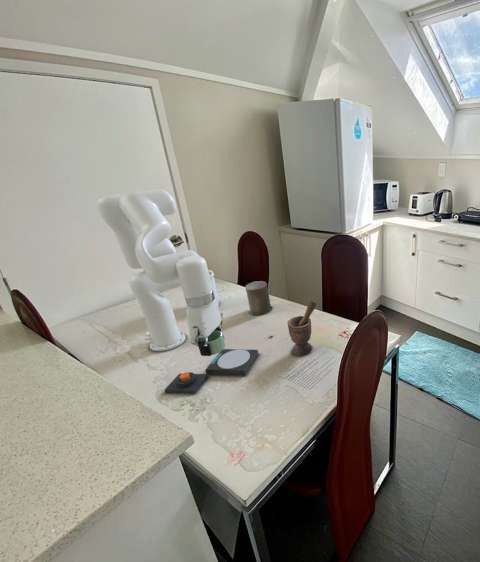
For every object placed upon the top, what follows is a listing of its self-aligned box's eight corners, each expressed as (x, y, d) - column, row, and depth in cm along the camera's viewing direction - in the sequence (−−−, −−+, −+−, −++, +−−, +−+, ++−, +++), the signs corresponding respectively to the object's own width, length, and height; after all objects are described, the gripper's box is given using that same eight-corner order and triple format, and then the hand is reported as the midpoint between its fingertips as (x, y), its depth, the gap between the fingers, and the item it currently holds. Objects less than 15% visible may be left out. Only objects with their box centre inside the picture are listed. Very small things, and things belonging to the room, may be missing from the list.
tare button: (178, 381, 103) (177, 377, 103) (184, 375, 106) (182, 372, 105) (187, 381, 103) (185, 378, 102) (192, 376, 106) (190, 372, 105)
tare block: (165, 393, 102) (162, 386, 101) (180, 376, 109) (178, 369, 108) (194, 393, 101) (192, 386, 100) (208, 377, 109) (206, 370, 108)
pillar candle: (274, 310, 152) (269, 282, 146) (254, 317, 146) (249, 288, 140) (266, 303, 159) (261, 276, 153) (247, 310, 153) (241, 282, 147)
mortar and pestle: (307, 337, 130) (302, 295, 122) (323, 344, 126) (319, 300, 118) (287, 352, 121) (280, 307, 113) (303, 359, 117) (297, 313, 109)
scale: (206, 375, 110) (205, 368, 109) (223, 354, 121) (222, 348, 120) (245, 376, 109) (244, 369, 108) (259, 355, 120) (257, 349, 119)
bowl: (197, 355, 96) (193, 342, 94) (209, 342, 103) (205, 330, 100) (218, 356, 96) (214, 343, 94) (229, 343, 102) (226, 330, 100)
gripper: (204, 285, 100) (216, 332, 107) (168, 312, 84) (185, 365, 91) (227, 286, 99) (237, 333, 107) (195, 313, 84) (209, 366, 91)
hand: (213, 347), depth 99 cm, fingers closed on bowl, 6 cm apart
